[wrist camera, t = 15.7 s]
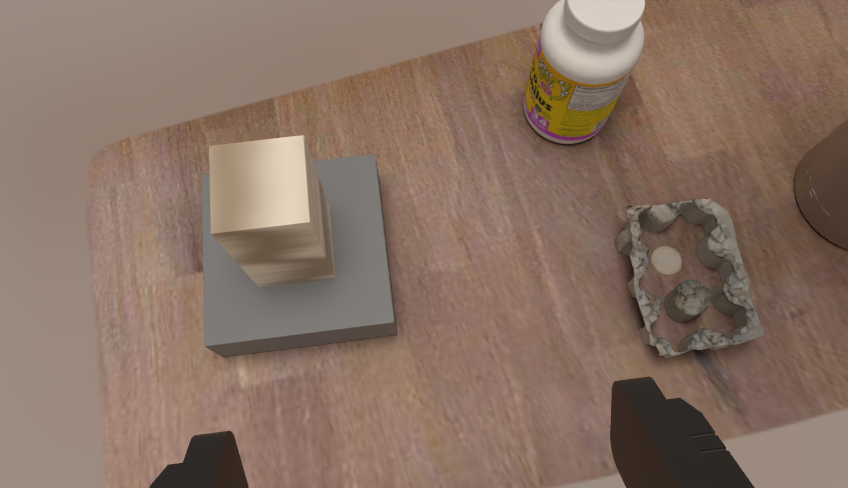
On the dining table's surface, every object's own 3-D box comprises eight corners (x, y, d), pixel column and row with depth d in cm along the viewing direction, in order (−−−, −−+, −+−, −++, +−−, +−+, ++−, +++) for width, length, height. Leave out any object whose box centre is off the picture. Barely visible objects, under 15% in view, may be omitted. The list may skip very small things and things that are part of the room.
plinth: (378, 178, 50) (374, 153, 46) (397, 334, 46) (394, 322, 42) (219, 197, 49) (201, 174, 45) (223, 357, 45) (204, 346, 41)
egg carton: (606, 220, 49) (621, 197, 45) (706, 210, 49) (730, 187, 45) (637, 364, 45) (657, 353, 41) (745, 352, 45) (774, 340, 41)
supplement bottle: (517, 76, 53) (543, -44, 40) (599, 70, 53) (650, -51, 41) (527, 151, 50) (559, 48, 38) (613, 145, 50) (672, 40, 38)
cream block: (329, 207, 44) (303, 135, 35) (335, 278, 43) (309, 222, 33) (255, 216, 44) (209, 146, 35) (258, 287, 43) (210, 233, 33)
